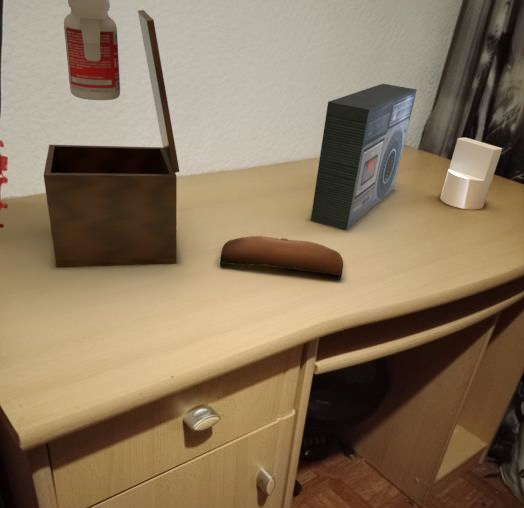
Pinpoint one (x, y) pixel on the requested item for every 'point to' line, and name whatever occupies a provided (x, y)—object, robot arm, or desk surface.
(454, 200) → the base with upright slab
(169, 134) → the box lid
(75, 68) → the pill bottle
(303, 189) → the desk surface
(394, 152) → the cassette player
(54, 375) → the desk surface
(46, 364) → the desk surface
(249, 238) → the sunglasses case
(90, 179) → the box
